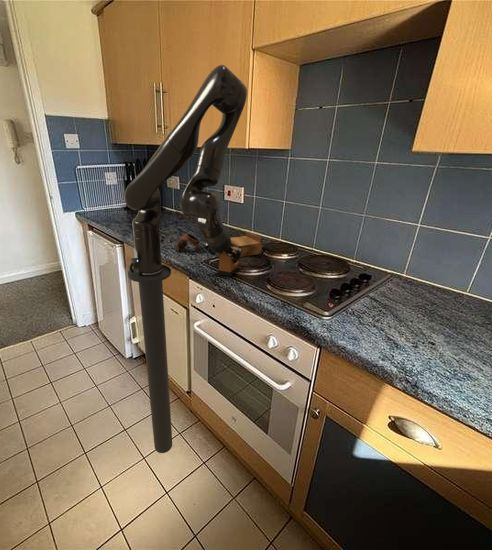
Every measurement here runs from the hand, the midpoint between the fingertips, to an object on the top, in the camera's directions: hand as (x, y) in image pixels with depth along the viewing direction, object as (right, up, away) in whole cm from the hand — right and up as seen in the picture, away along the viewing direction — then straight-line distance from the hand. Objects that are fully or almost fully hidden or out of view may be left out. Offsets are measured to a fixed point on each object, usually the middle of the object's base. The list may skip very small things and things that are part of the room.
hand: (229, 259), depth 110 cm
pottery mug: (-18, +5, +23) cm, 30 cm away
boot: (0, -4, +2) cm, 5 cm away
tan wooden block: (+7, +5, +24) cm, 26 cm away
